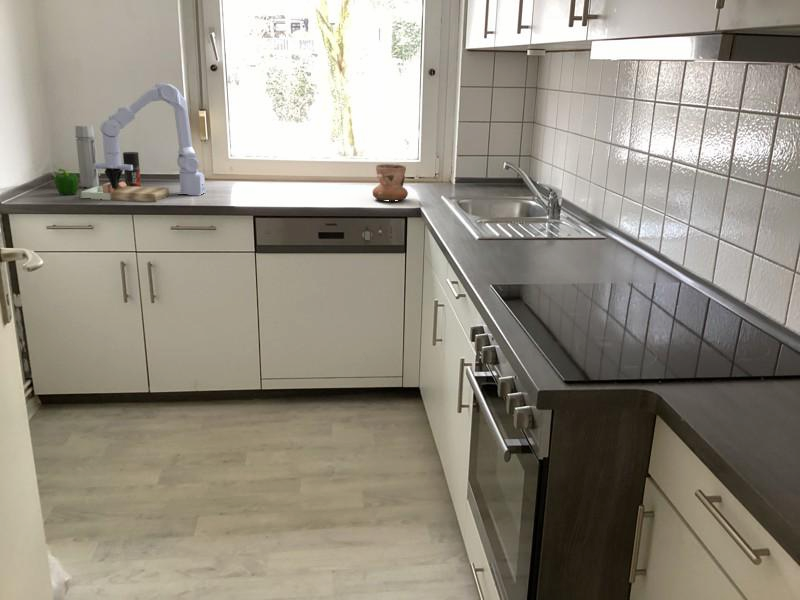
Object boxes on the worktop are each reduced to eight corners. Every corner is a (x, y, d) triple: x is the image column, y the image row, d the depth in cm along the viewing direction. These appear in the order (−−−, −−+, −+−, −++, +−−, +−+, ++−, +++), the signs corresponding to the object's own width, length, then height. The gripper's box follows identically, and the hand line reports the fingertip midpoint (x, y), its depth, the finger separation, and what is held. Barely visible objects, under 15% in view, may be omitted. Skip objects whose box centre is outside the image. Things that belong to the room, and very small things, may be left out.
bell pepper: (84, 193, 283) (81, 167, 280) (73, 196, 275) (70, 170, 272) (64, 192, 284) (61, 166, 281) (52, 195, 276) (49, 169, 273)
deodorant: (131, 191, 291) (128, 154, 286) (123, 189, 294) (119, 152, 290) (144, 189, 296) (141, 153, 291) (135, 187, 299) (132, 151, 294)
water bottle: (76, 187, 294) (69, 125, 286) (89, 184, 301) (83, 124, 294) (94, 189, 292) (88, 127, 284) (107, 186, 299) (102, 125, 291)
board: (168, 195, 285) (168, 188, 284) (155, 201, 272) (155, 194, 271) (127, 193, 285) (126, 186, 284) (112, 199, 272) (111, 191, 271)
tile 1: (126, 185, 283) (123, 181, 283) (121, 187, 278) (118, 183, 278) (118, 192, 284) (114, 188, 284) (112, 194, 280) (109, 190, 279)
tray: (126, 193, 286) (125, 187, 285) (110, 199, 272) (109, 193, 271) (98, 192, 286) (97, 185, 286) (80, 198, 272) (79, 192, 271)
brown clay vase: (391, 205, 282) (392, 169, 278) (363, 200, 290) (364, 165, 286) (417, 200, 296) (419, 165, 292) (389, 195, 304) (390, 162, 300)
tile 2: (113, 182, 276) (108, 182, 277) (107, 184, 272) (102, 184, 272) (114, 195, 278) (109, 195, 278) (108, 197, 273) (103, 197, 273)
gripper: (88, 153, 266) (91, 189, 271) (126, 154, 266) (129, 190, 270) (96, 150, 273) (100, 186, 277) (134, 152, 273) (136, 187, 277)
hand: (115, 188), depth 274 cm, fingers closed
